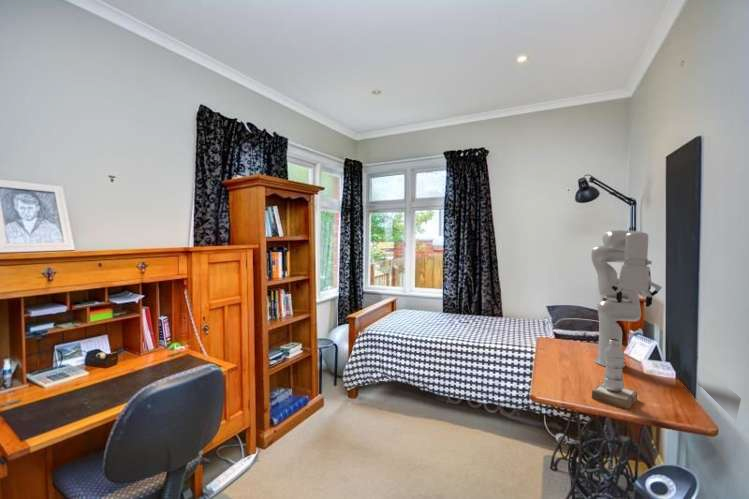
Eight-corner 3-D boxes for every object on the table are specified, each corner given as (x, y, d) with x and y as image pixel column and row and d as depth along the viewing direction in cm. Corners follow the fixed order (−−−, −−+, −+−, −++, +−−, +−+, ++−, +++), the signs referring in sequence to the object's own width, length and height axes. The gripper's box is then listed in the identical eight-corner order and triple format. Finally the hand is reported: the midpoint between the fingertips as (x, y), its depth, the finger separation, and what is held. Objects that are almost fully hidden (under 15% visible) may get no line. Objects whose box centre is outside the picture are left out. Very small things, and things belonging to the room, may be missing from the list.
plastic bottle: (624, 395, 134) (626, 343, 133) (603, 391, 138) (605, 340, 137) (623, 389, 140) (624, 339, 139) (602, 385, 143) (604, 336, 142)
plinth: (601, 389, 147) (602, 381, 147) (636, 399, 138) (637, 391, 138) (591, 398, 139) (592, 390, 139) (628, 409, 130) (628, 400, 130)
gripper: (664, 263, 139) (662, 306, 140) (613, 260, 152) (612, 299, 154) (659, 265, 134) (657, 309, 135) (607, 261, 147) (606, 302, 149)
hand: (633, 304), depth 144 cm, fingers open, 9 cm apart
